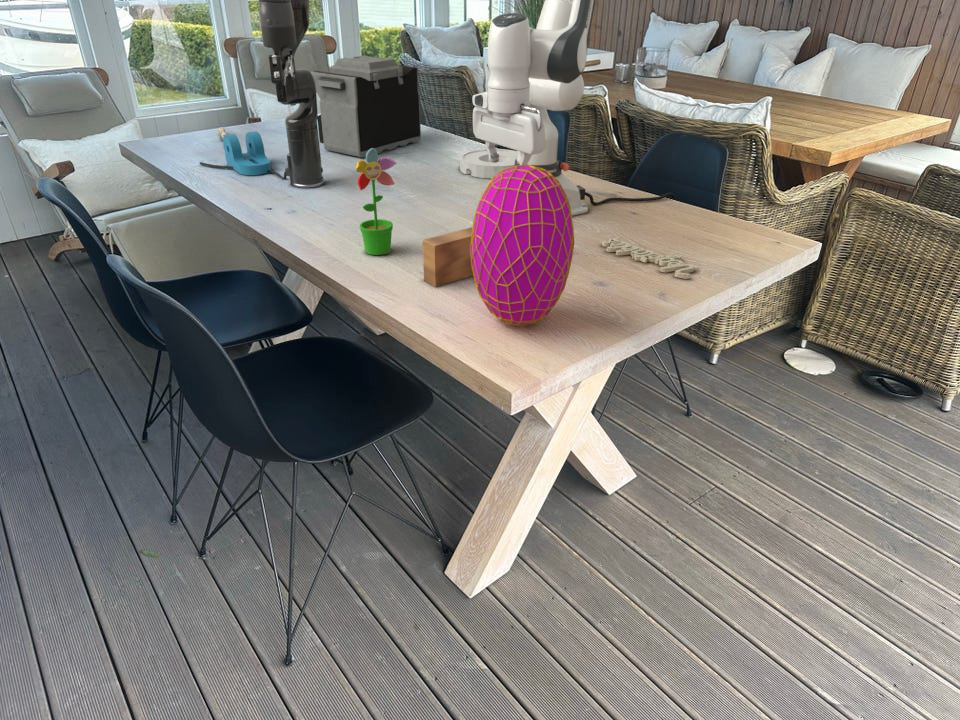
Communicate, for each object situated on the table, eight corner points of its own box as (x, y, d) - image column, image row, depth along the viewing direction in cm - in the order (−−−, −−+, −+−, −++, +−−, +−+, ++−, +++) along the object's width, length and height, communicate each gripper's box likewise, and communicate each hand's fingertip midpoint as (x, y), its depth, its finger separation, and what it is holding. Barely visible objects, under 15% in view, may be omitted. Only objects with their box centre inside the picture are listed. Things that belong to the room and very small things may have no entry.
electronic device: (383, 133, 276) (378, 52, 261) (425, 141, 265) (422, 56, 250) (314, 150, 251) (304, 61, 235) (358, 160, 240) (350, 67, 224)
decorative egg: (525, 353, 124) (534, 190, 109) (449, 319, 135) (447, 167, 120) (586, 318, 136) (602, 167, 121) (512, 290, 148) (517, 148, 132)
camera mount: (227, 164, 233) (221, 132, 227) (257, 160, 238) (252, 129, 233) (244, 176, 220) (239, 143, 215) (276, 172, 225) (271, 139, 220)
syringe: (218, 132, 274) (216, 125, 272) (227, 131, 275) (226, 124, 274) (222, 147, 254) (220, 139, 252) (232, 146, 255) (231, 138, 254)
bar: (435, 287, 149) (434, 245, 144) (423, 280, 152) (422, 239, 147) (521, 260, 163) (522, 222, 158) (508, 255, 166) (510, 217, 161)
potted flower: (366, 259, 162) (357, 151, 149) (355, 248, 168) (346, 144, 155) (403, 252, 166) (398, 147, 153) (391, 242, 172) (385, 139, 159)
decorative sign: (710, 264, 159) (686, 276, 153) (709, 268, 159) (685, 280, 153) (618, 234, 175) (593, 244, 169) (618, 238, 176) (593, 247, 170)
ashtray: (461, 159, 242) (461, 148, 240) (527, 160, 241) (527, 149, 239) (457, 177, 222) (457, 165, 220) (529, 179, 221) (529, 166, 219)
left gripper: (287, 26, 150) (296, 104, 159) (300, 21, 163) (308, 93, 171) (252, 26, 150) (263, 104, 159) (268, 21, 163) (278, 93, 171)
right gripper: (553, 106, 139) (550, 174, 146) (489, 91, 152) (489, 154, 160) (530, 110, 135) (528, 180, 143) (467, 95, 149) (468, 159, 156)
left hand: (286, 98), depth 165 cm, fingers open, 8 cm apart
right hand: (507, 166), depth 151 cm, fingers open, 8 cm apart
